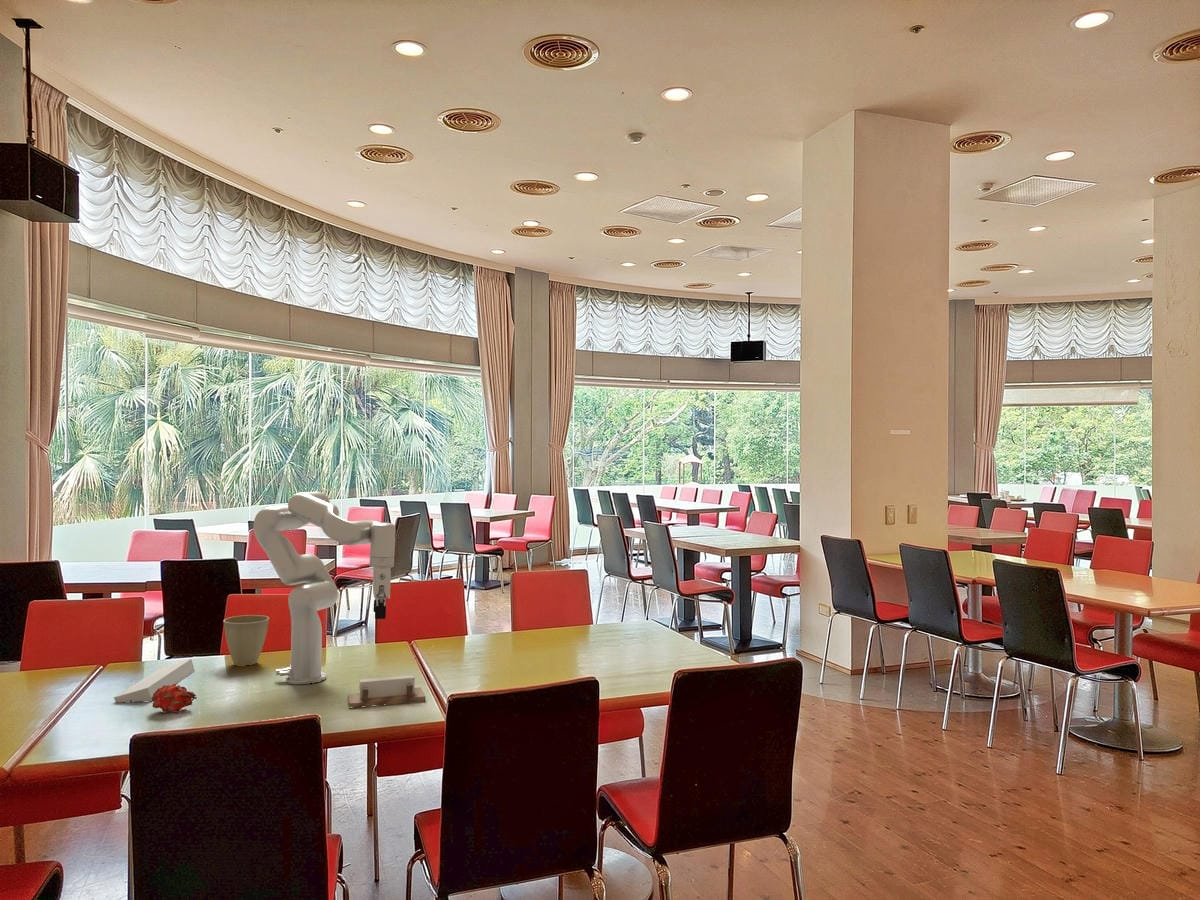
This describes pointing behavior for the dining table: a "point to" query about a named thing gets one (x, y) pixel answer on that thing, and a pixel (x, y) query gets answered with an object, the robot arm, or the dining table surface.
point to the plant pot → (245, 637)
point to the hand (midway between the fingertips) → (379, 615)
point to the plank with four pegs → (386, 698)
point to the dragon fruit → (172, 698)
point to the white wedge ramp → (156, 682)
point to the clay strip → (386, 686)
